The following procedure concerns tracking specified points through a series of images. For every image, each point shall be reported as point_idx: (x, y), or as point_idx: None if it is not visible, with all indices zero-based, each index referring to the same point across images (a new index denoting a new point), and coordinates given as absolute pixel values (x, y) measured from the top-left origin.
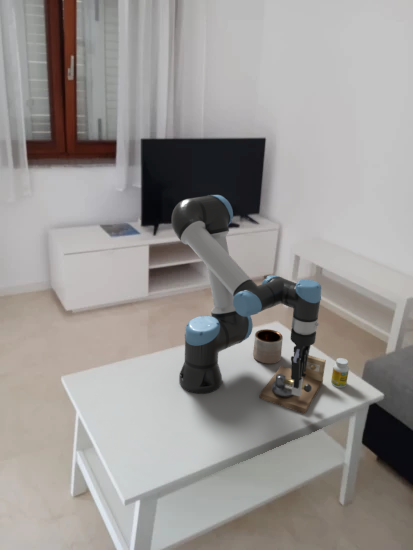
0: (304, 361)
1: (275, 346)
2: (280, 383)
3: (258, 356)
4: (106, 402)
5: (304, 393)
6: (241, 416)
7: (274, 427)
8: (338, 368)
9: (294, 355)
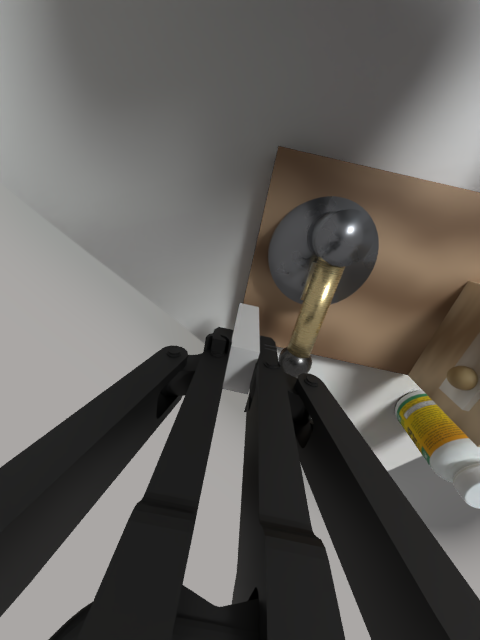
0: (240, 523)
1: None
2: (312, 242)
3: None
4: None
5: (321, 328)
6: (129, 100)
7: (135, 248)
8: (450, 460)
9: (91, 613)
